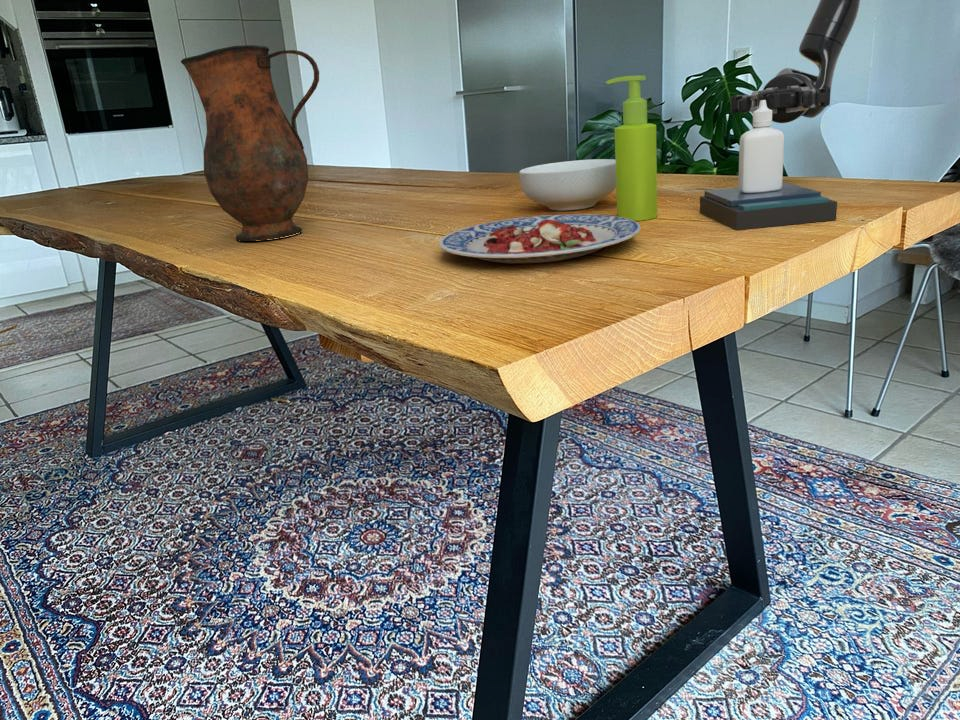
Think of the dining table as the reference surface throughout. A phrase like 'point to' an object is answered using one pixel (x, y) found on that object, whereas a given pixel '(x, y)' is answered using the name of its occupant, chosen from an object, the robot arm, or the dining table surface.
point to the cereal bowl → (569, 183)
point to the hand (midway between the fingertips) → (774, 102)
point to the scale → (770, 212)
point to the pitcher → (251, 140)
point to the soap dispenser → (635, 156)
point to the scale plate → (760, 195)
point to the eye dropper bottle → (761, 154)
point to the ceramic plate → (539, 238)
